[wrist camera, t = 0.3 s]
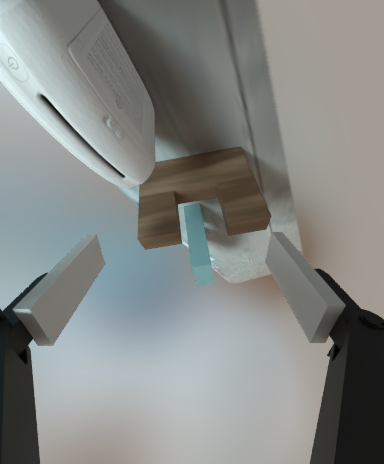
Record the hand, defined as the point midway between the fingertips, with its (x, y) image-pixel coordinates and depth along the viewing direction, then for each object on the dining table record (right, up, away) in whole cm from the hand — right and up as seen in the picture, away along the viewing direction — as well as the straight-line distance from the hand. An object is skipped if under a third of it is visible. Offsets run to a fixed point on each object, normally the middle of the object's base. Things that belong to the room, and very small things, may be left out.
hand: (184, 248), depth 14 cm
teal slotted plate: (+1, +4, +24) cm, 24 cm away
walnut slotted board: (+1, +11, +12) cm, 17 cm away
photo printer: (-7, +17, +3) cm, 18 cm away
